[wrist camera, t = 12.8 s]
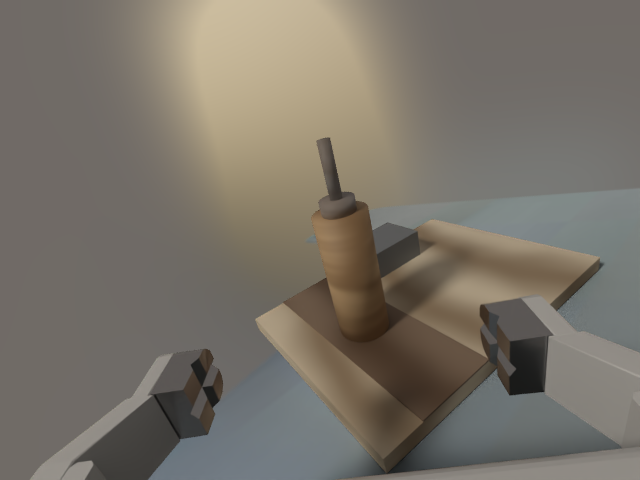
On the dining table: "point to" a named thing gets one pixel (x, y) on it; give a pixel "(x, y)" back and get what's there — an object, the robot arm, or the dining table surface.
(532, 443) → the dining table surface
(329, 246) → the awl
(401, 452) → the subfloor panel
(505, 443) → the dining table surface
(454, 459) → the dining table surface
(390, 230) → the block
